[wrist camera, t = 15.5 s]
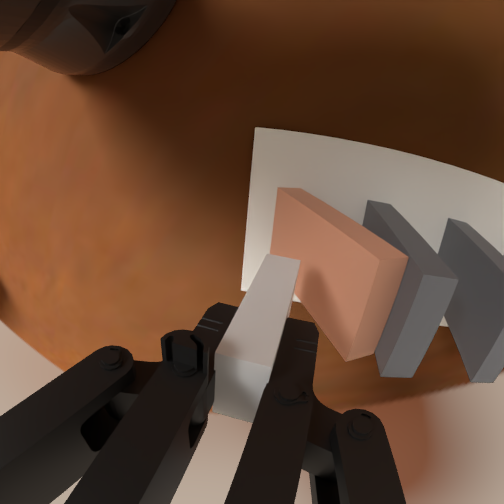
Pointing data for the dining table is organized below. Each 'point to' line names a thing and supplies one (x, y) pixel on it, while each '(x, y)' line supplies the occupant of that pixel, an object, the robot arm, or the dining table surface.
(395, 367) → the domino
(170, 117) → the dining table surface
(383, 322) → the orange domino
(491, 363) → the domino
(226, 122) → the dining table surface
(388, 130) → the dining table surface
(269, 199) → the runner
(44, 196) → the dining table surface
